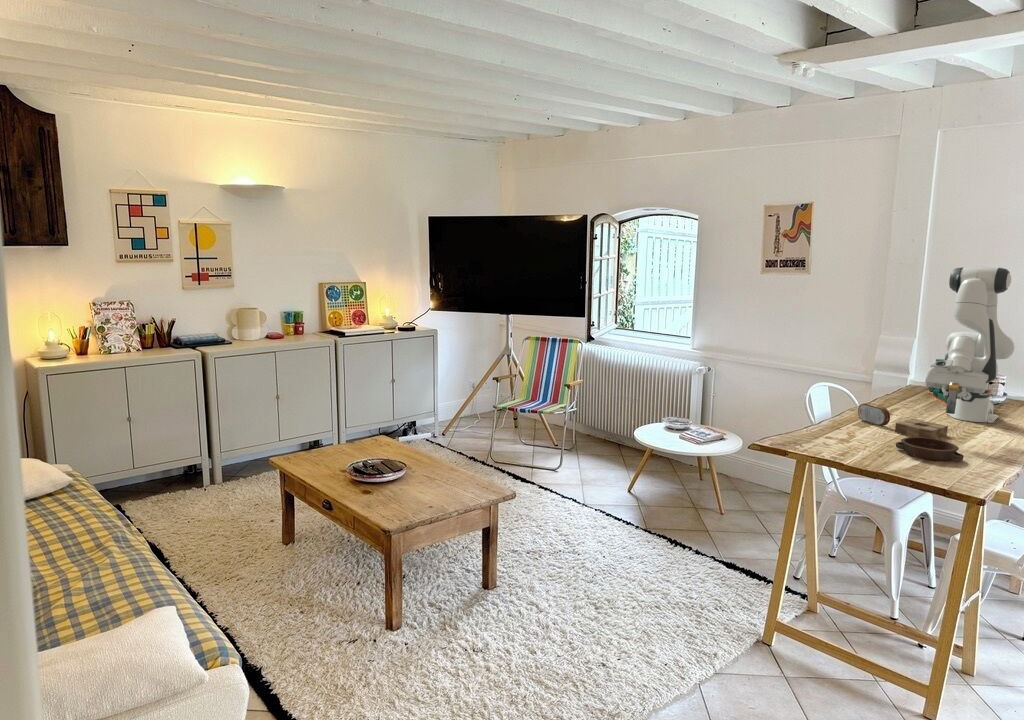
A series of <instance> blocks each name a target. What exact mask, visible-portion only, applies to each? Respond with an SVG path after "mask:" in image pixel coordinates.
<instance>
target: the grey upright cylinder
mask: <svg viewBox="0 0 1024 720" xmlns="http://www.w3.org/2000/svg"><path fill="white" fill-rule="evenodd" d="M958 389H959V383H955V382H950V384H949V393H948V400H947V405H946V408H945V413H949V414H955V408H956V401H957V394H958Z"/></svg>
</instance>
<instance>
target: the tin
mask: <svg viewBox="0 0 1024 720" xmlns="http://www.w3.org/2000/svg"><path fill="white" fill-rule="evenodd" d="M857 414H858V418H859V419H860V420H861V421H863V422H865V423H867V424H871V423H872V424H871V425H874V424H875V426H877V425H879V426H878V427H881V426H883V425H884V426H887V425H888V424H889V423H890V420H891V414H890V412H889V410H888V409H887V408H886V407H884V406H883V405H879V404H878V405H877V404H875V403H871V402H865V403H861V404H859V406H858V408H857ZM884 426H883V427H884Z"/></svg>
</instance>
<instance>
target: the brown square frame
mask: <svg viewBox="0 0 1024 720" xmlns="http://www.w3.org/2000/svg"><path fill="white" fill-rule="evenodd" d="M948 427H949V426H948V425H943V424H938V423H935V422H928V421H925V420H919V419H915V418H911V419H906V420H902V421H899V422H896V423H895V429H894V433H895V432H897V433H896V434H899V433H901V434H900V435H903V434H906V435H905V436H908V435H910V436H909V437H912V436H914V437H924V438H933V439H938V440H939V439H941V438H944V437H946V436H947V435H948Z"/></svg>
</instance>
